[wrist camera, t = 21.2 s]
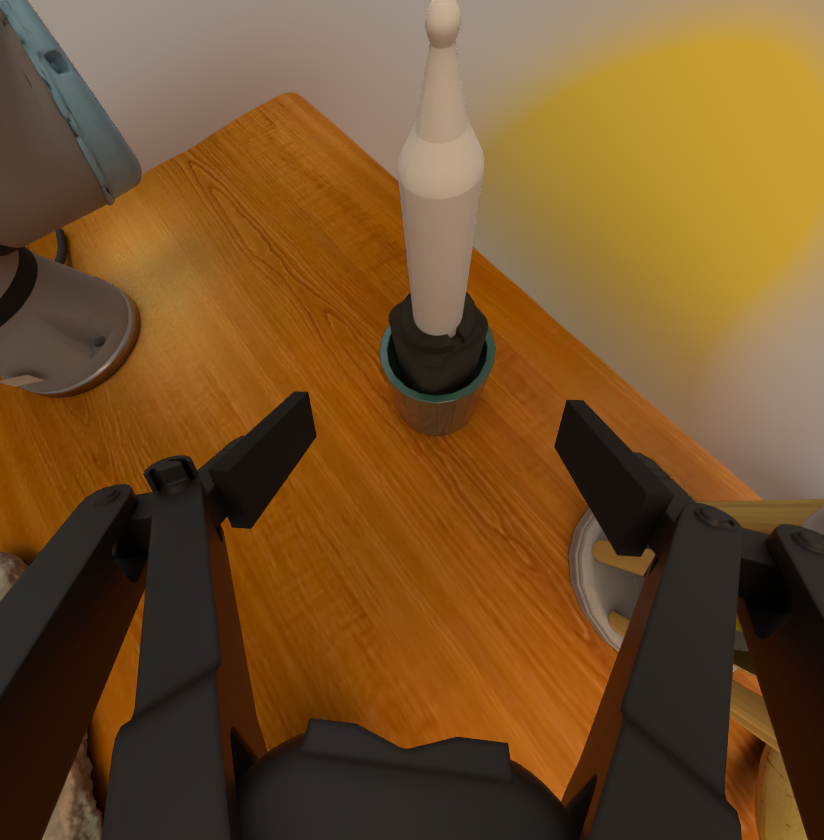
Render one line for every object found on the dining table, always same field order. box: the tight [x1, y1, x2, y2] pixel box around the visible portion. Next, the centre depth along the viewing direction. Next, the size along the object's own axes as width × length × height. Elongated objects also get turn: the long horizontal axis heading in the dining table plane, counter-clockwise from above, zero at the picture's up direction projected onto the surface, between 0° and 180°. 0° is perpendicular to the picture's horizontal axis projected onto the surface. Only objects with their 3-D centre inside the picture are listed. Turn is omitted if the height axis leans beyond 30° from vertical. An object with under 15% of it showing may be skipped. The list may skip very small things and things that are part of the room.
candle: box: [389, 0, 488, 396], centre depth 19 cm, size 5×5×25 cm
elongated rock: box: [0, 552, 103, 840], centre depth 23 cm, size 35×5×10 cm
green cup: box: [379, 324, 496, 436], centre depth 27 cm, size 8×8×10 cm
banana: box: [755, 744, 808, 840], centre depth 20 cm, size 10×2×4 cm, turn 131°
